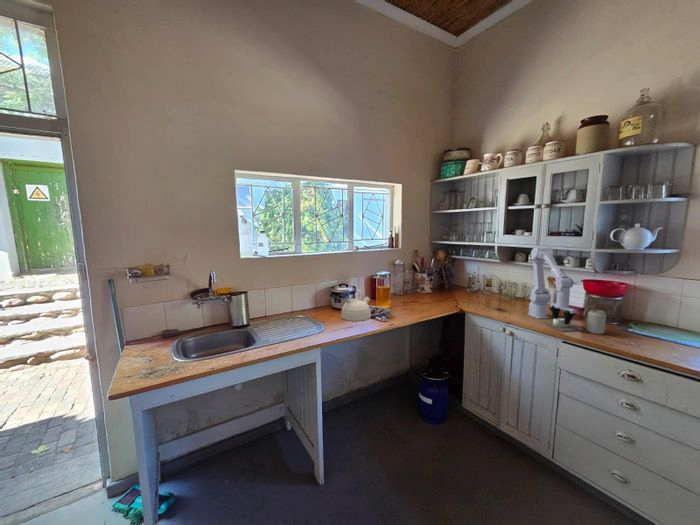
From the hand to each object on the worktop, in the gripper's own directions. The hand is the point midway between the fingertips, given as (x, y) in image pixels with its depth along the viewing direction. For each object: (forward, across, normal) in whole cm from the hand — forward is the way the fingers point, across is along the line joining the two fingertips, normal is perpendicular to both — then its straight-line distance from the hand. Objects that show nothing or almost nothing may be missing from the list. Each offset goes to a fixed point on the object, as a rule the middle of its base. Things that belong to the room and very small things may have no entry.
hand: (561, 322), depth 161 cm
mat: (+3, 0, 0) cm, 3 cm away
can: (+3, +10, +11) cm, 15 cm away
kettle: (+3, -39, -113) cm, 120 cm away
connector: (+2, 0, 0) cm, 2 cm away
